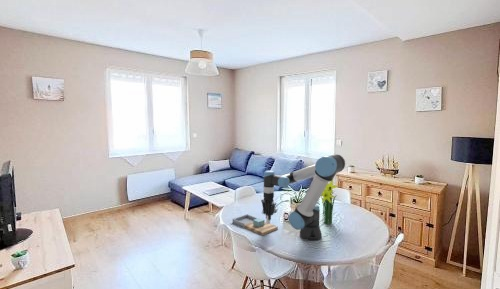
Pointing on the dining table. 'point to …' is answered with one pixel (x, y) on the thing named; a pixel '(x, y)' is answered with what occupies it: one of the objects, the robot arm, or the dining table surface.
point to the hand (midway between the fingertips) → (268, 223)
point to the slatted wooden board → (261, 228)
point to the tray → (243, 220)
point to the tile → (258, 222)
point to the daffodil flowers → (328, 202)
